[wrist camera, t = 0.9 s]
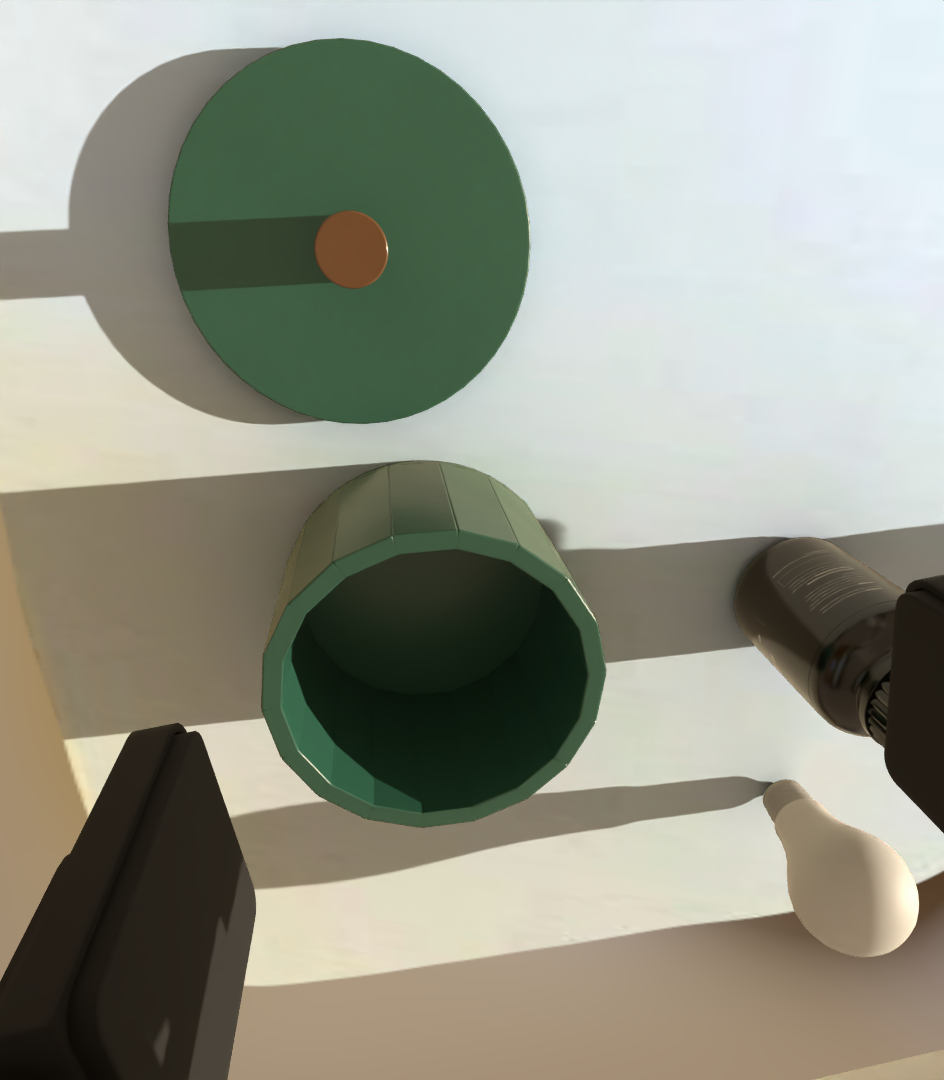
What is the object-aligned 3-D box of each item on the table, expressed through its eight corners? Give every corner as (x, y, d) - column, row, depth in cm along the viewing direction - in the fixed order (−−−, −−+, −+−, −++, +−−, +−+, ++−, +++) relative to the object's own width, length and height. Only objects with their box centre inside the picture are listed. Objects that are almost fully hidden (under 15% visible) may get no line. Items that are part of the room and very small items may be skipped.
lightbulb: (835, 747, 46) (965, 891, 36) (808, 826, 48) (924, 983, 38) (741, 745, 45) (847, 893, 35) (718, 826, 47) (812, 987, 37)
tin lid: (101, 140, 30) (37, 118, 24) (444, -22, 29) (461, -85, 23) (282, 468, 36) (265, 513, 30) (572, 339, 35) (610, 359, 29)
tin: (235, 530, 36) (190, 623, 28) (497, 413, 36) (536, 471, 27) (360, 738, 42) (356, 871, 33) (590, 639, 41) (648, 748, 32)
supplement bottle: (715, 640, 42) (836, 784, 31) (751, 526, 40) (896, 638, 29) (825, 650, 43) (981, 793, 32) (867, 540, 41) (1050, 653, 30)
